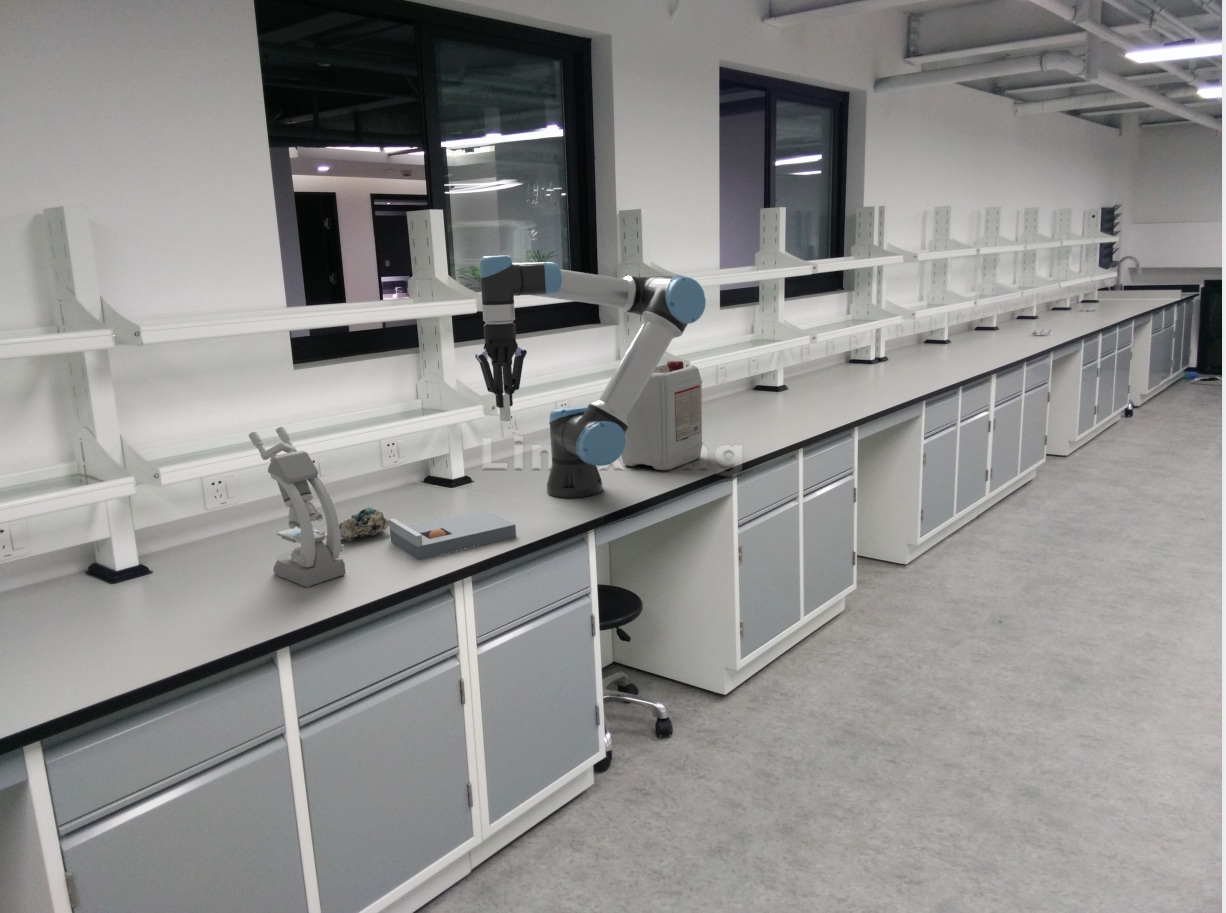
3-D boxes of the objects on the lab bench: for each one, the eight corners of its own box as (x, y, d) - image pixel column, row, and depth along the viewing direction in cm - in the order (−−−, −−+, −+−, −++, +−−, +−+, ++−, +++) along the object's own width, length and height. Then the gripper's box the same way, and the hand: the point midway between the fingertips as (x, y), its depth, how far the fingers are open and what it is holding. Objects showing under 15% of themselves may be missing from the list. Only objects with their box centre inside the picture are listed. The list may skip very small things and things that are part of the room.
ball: (444, 540, 206) (440, 524, 205) (451, 544, 203) (447, 528, 201) (428, 546, 204) (424, 530, 203) (435, 551, 201) (431, 534, 199)
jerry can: (657, 451, 289) (655, 358, 282) (708, 457, 278) (707, 360, 272) (614, 467, 270) (610, 368, 263) (667, 474, 259) (665, 371, 253)
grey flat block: (484, 521, 220) (483, 500, 219) (516, 536, 208) (514, 514, 206) (391, 541, 207) (388, 519, 206) (418, 559, 194) (416, 536, 193)
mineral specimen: (378, 523, 219) (364, 495, 216) (398, 527, 213) (383, 498, 210) (338, 552, 212) (322, 524, 209) (357, 557, 206) (341, 528, 202)
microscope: (304, 557, 199) (288, 424, 192) (353, 575, 187) (337, 433, 180) (258, 571, 191) (239, 433, 184) (305, 590, 179) (287, 443, 172)
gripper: (515, 319, 219) (521, 414, 225) (467, 323, 212) (474, 422, 217) (531, 321, 213) (536, 418, 219) (481, 325, 206) (488, 426, 211)
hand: (505, 420), depth 218 cm, fingers closed
